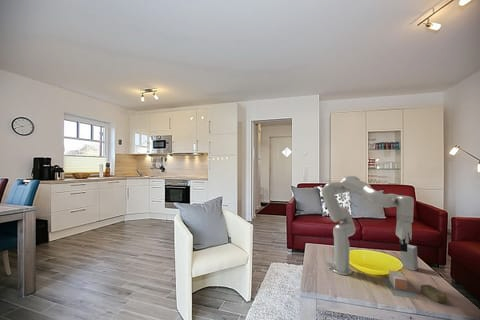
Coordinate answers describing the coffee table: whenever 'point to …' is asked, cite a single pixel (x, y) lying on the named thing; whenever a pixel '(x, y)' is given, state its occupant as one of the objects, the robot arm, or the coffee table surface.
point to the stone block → (434, 293)
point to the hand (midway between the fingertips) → (403, 250)
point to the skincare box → (410, 258)
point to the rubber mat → (401, 291)
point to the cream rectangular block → (398, 280)
